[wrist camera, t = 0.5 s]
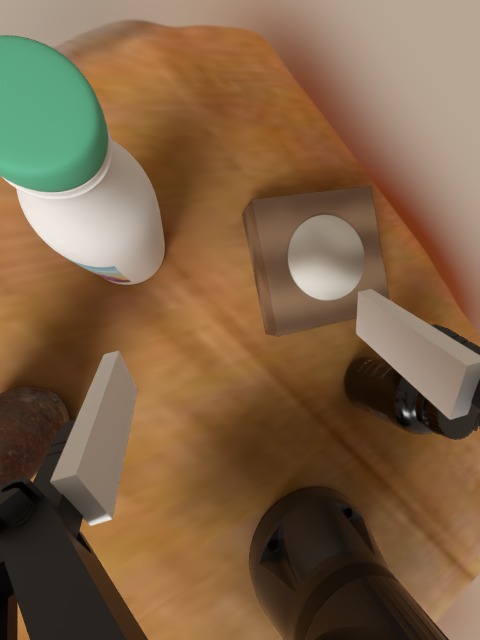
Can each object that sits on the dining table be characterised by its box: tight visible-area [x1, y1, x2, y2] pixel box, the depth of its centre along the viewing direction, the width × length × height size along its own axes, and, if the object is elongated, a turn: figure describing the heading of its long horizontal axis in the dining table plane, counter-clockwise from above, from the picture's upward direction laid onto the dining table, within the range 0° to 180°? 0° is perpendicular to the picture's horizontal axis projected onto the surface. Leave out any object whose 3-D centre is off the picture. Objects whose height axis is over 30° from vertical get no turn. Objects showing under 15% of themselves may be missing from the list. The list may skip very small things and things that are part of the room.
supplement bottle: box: [345, 357, 479, 440], centre depth 29 cm, size 7×7×12 cm
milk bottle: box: [0, 35, 165, 285], centre depth 19 cm, size 8×8×20 cm
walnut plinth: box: [242, 186, 390, 337], centre depth 31 cm, size 14×14×4 cm
